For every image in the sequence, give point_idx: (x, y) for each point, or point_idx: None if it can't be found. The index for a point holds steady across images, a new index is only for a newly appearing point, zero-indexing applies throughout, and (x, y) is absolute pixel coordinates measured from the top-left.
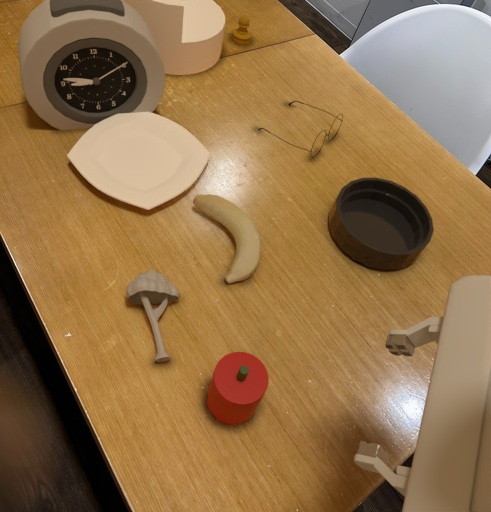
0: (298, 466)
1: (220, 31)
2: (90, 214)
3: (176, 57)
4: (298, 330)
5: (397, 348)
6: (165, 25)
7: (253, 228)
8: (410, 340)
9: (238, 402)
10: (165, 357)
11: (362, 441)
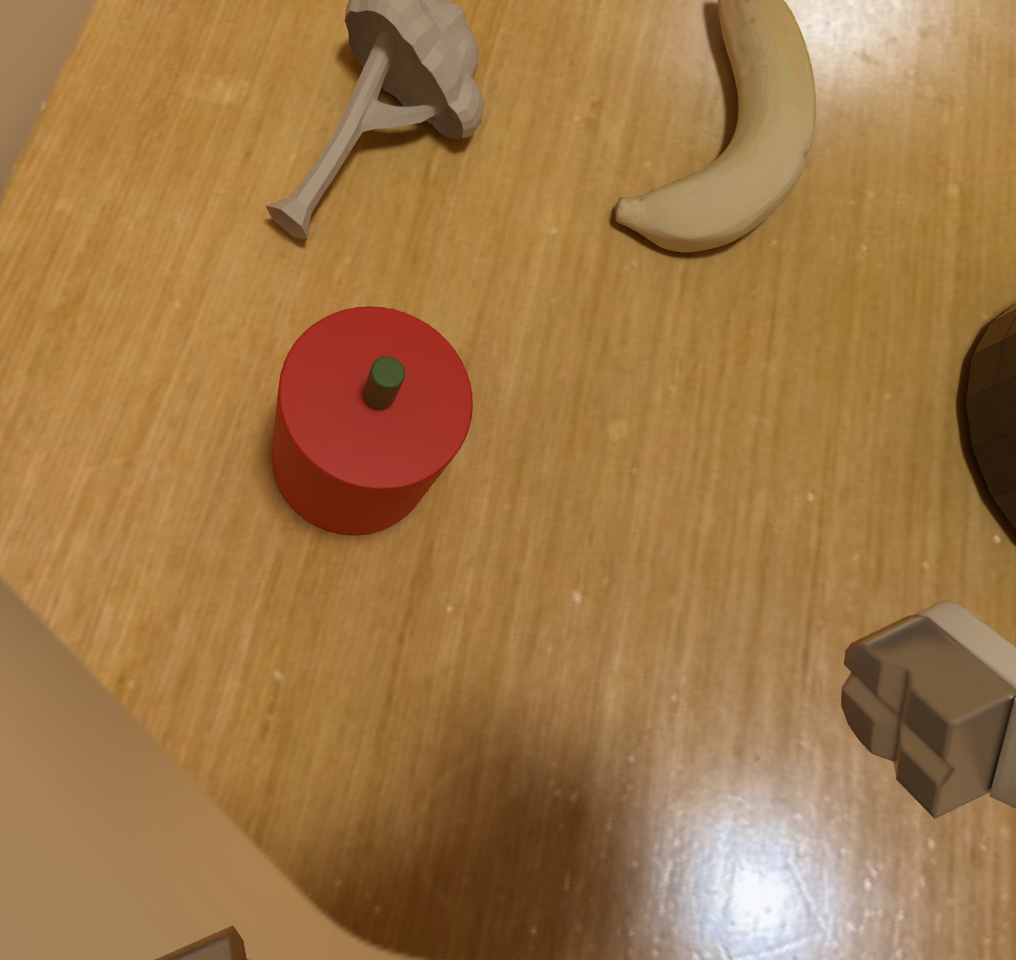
0: (343, 747)
1: None
2: None
3: None
4: (670, 469)
5: (896, 712)
6: None
7: (799, 148)
8: (1006, 739)
9: (302, 443)
10: (301, 228)
11: (228, 948)
